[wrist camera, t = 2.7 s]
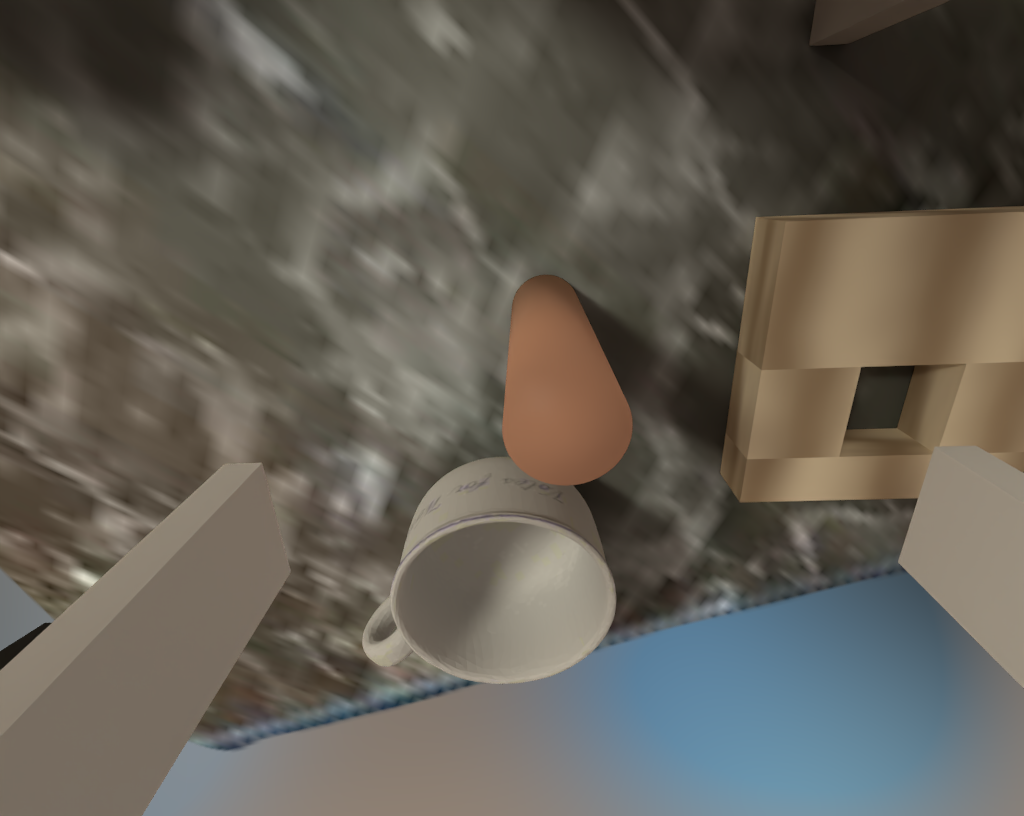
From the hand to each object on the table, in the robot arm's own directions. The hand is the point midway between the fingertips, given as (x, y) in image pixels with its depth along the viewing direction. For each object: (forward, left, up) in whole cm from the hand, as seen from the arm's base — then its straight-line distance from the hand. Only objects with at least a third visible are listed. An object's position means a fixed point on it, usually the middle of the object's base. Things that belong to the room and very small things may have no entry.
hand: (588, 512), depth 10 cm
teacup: (-4, -13, -18) cm, 22 cm away
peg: (0, 0, -17) cm, 17 cm away
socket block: (+17, -3, -17) cm, 24 cm away
